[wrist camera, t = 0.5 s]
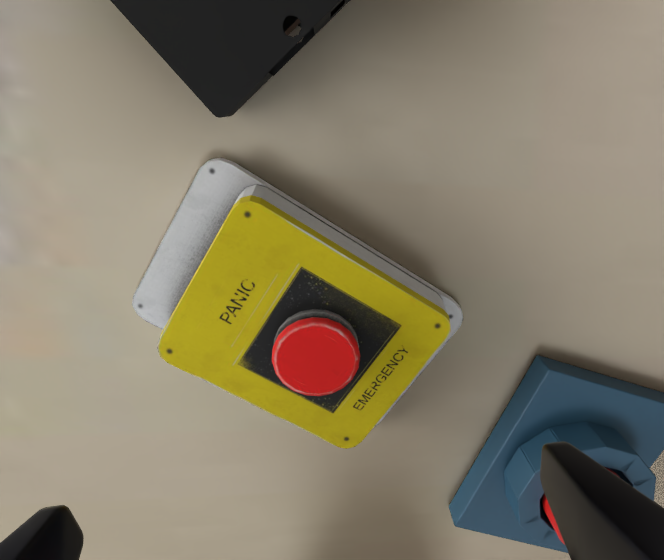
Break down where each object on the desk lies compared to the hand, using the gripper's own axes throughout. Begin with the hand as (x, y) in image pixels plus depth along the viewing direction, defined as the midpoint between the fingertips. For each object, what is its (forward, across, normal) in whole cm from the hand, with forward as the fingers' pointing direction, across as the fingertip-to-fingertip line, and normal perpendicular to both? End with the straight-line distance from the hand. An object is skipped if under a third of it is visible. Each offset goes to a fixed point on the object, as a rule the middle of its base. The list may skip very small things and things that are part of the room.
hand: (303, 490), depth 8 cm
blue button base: (+14, -12, +16) cm, 25 cm away
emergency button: (+15, +1, +4) cm, 15 cm away
